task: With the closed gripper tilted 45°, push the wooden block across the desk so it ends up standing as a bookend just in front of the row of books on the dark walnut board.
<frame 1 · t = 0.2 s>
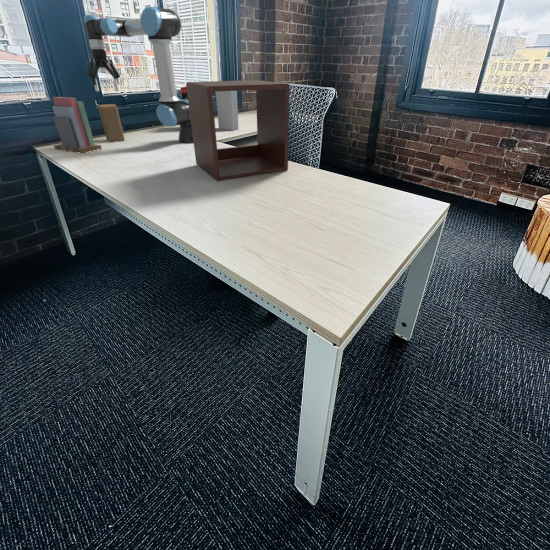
hand: (107, 91, 202), 27 cm above the table, tool pointing down, fingers open, 13 cm apart
wooden block: (115, 140, 210), on the table
storage cube: (241, 168, 158), on the table
grey upright pillar: (228, 129, 243), on the table
graphics card box: (193, 129, 245), on the table
row of books: (71, 122, 183), on the walnut shelf board, point 14 cm above the table
walnut shelf board: (78, 149, 190), on the table
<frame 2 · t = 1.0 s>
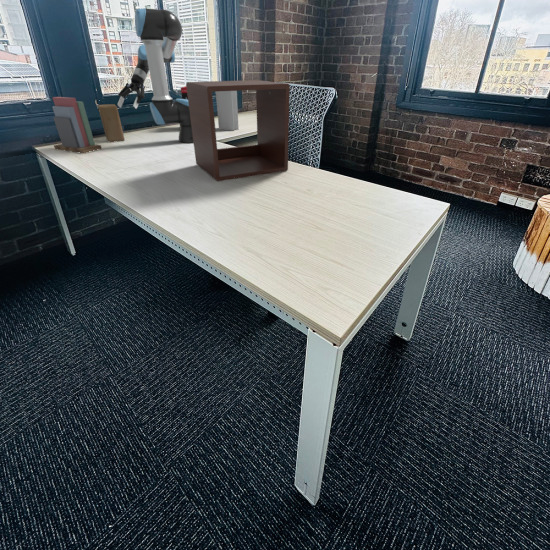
hand: (126, 106, 212), 18 cm above the table, tool tilted 45°, fingers open, 12 cm apart
nothing on the table moved.
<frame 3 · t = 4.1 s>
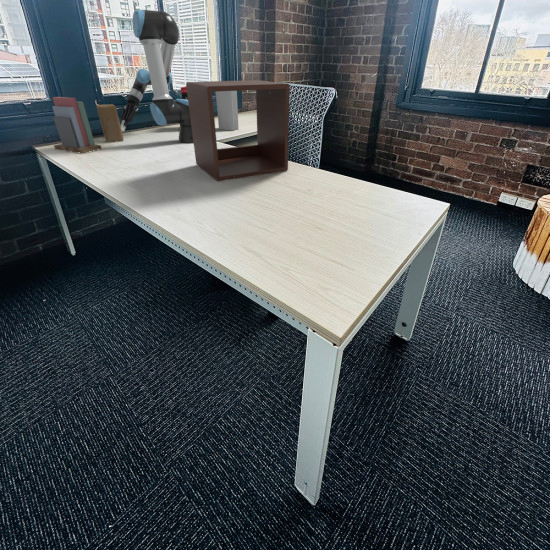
hand: (121, 130, 213), 5 cm above the table, tool tilted 45°, fingers closed
wooden block: (114, 140, 210), on the table, touching gripper
everything else where it was.
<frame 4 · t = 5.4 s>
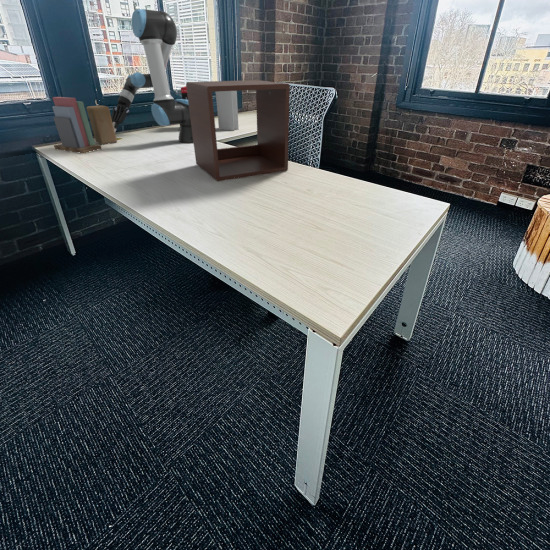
hand: (112, 132, 208), 5 cm above the table, tool tilted 45°, fingers closed
wooden block: (106, 142, 204), on the table, touching gripper
everything else where it was.
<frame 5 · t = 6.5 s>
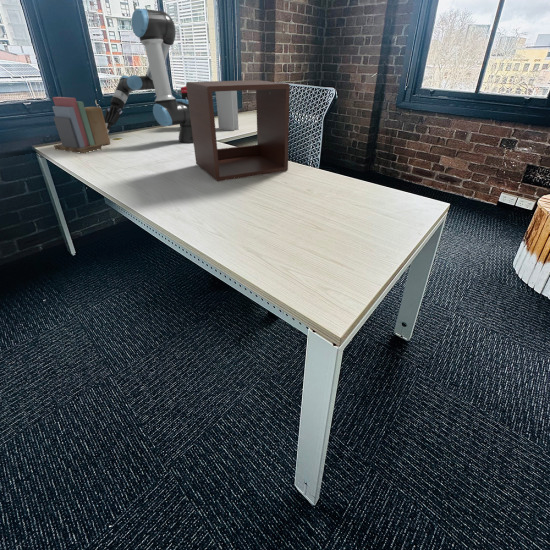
hand: (104, 133, 203), 5 cm above the table, tool tilted 45°, fingers closed
wooden block: (99, 144, 200), on the table, touching gripper
everything else where it was.
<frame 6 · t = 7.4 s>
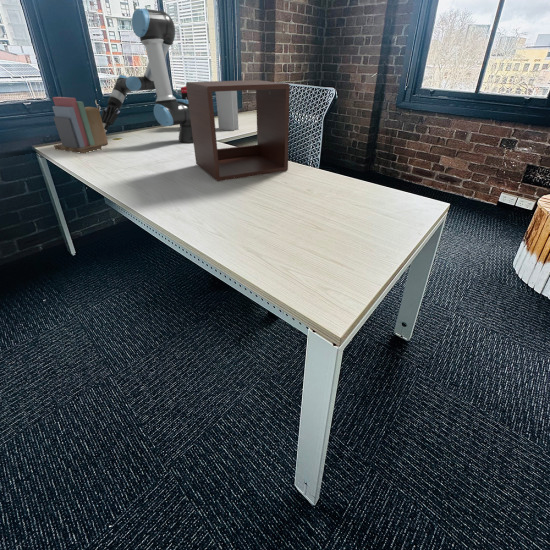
hand: (101, 133, 201), 5 cm above the table, tool tilted 45°, fingers closed
wooden block: (96, 145, 198), on the table, touching gripper, row of books, walnut shelf board
everything else where it was.
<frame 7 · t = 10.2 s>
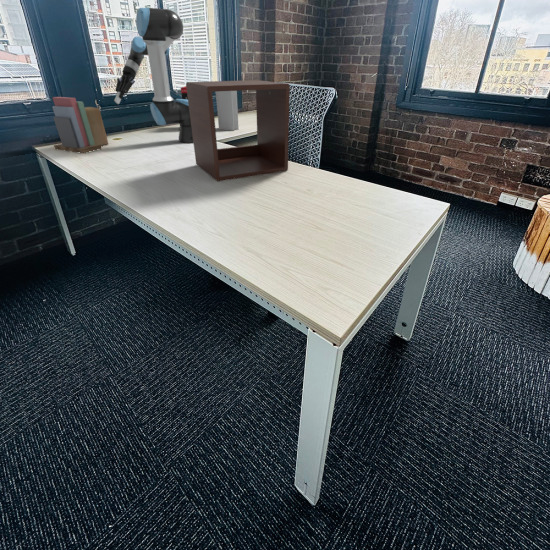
hand: (116, 102, 204), 21 cm above the table, tool tilted 45°, fingers closed
wooden block: (97, 145, 198), on the table
everything else where it was.
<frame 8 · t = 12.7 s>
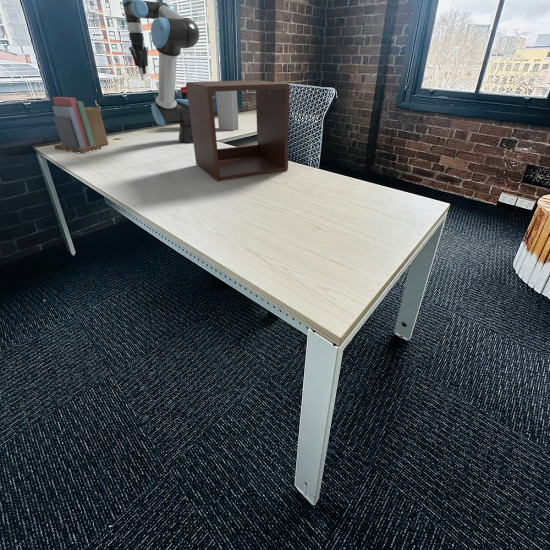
hand: (144, 80, 202), 32 cm above the table, tool pointing down, fingers closed
nothing on the table moved.
at the end: wooden block inside the target area on the table beside the row of books (2.4 cm from its centre), on the table; wooden block tilted 0°; wooden block moved 15.3 cm from its start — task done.
